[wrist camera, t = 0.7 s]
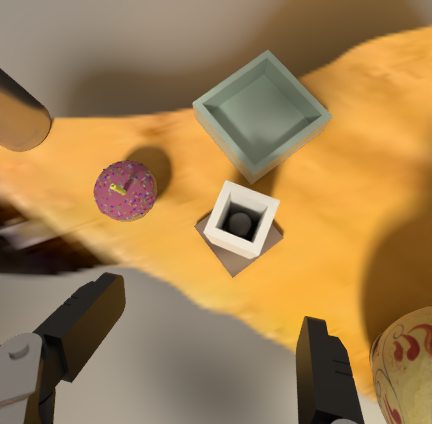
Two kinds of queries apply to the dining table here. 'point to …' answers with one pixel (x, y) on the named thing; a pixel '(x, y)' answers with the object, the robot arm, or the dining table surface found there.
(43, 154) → the dining table surface
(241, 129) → the tray
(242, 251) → the sleeve
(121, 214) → the cupcake
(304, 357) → the robot arm
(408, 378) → the amphora
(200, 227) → the base
